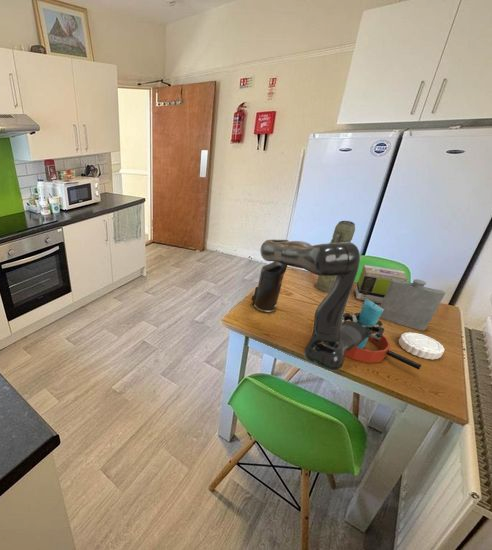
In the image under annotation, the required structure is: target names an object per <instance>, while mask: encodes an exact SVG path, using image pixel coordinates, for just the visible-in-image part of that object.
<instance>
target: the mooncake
mask: <svg viewBox="0 0 492 550" xmlns="http://www.w3.org/2000/svg"><path fill="white" fill-rule="evenodd" d="M398 345H399V346H400V347H401V349H403V350H405V352H406V353H410V355H412V356H416V357H418V358H421V359H425V360H438V359H441V358H442V356H443V354H444V352H445V350H446V349H445V347H444V345H443V344H441V342H439V341H437V340H436V339H435V338H432V337H430V336H428V335H425V334H423V333H418V332H413V331H412V332H411V331H408V332H404V333H402V334H401V335H400V337H399V338H398Z"/></svg>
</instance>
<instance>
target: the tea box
mask: <svg viewBox="0 0 492 550" xmlns="http://www.w3.org/2000/svg"><path fill="white" fill-rule="evenodd" d="M392 279H397V280H400V281H405V282H408V279H409V278H408V277H407V274H406V273H405V271H404V270H403V269H398V268H397V269H396V268H391V267H383V266H376V265H370V264H363V265H362V269H361V272H360V274H359V277H358V280H357V283H356V286H355V288H354V292H355V299H356V300H361V301H365V299H366V298H367V299H368V300H370V301H371V302H373V303H375V304H380V305H381V303H382V301H383V299H384V296H385V294H386V292H387V290H388V287H389V285H390V283H391V281H392Z"/></svg>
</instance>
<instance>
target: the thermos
mask: <svg viewBox="0 0 492 550" xmlns="http://www.w3.org/2000/svg"><path fill="white" fill-rule="evenodd" d="M355 232H356V224H355V222H354V221H350V220H340V221H338V223H337V224H336V226H335V227H334V230H333V233H332V238H331V240H330V242H329V243H341V242H350V243H352V242H351V241H352V240H353V237H354V234H355ZM335 280H336V276H318V277H317V280H316V285H315V288H316V289H317V290H319V291H321V292H323V293H327V294H328V293H329V292H330V290H331V289H332V287H333V285H334V283H335Z"/></svg>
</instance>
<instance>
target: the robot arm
mask: <svg viewBox="0 0 492 550" xmlns="http://www.w3.org/2000/svg"><path fill="white" fill-rule="evenodd" d="M259 249H260V256H261V258H262V259H263V261H265V262H270V263H267V264H264V265H263V266H262V267H261V269H260V275H259V279H258V283H257V286H256V287H255V289H254V294H252V295H251V301H252V304H251V306H253V307H254V308H255V309H256V310H257V311H259V312H262V313H267V314H268V313H274V312H275V311H276V310H277V306H278V304H279V302H278V300H279V297H280V292H281V289H282V284H283V280H284V277H285V273H286V271H287V268H288V266H289V267H292V268H297V269H303V270H304V271H307V272H309V273H310V274H313V275H315V276H318V277H319V276H336V280H335V283H334V285H333V287H332V289H331V290H330V292H329V293H328V292H327V294H326V295H325V297H324V298H323V299H322V300H321V301H320V303H319V304H318V306H317V307H316V309H315V313H314V317H313V325H312V326H313V327H312V332H311V334H310V336H309V340H308V341H307V344H306V346H305V348H304V350H303V355H304V357H305V359H306V361H308V362H309V363H312V364H314V365H316V366H319V367H321V368H324V369H326V370H329V371H333V372H335V371H339V370H341V369H342V367H343V366H344V363H345V358H346V357H347V356H346V354H347V353H348V352H349V351H350V350H352V349H353V348H355V347H356V346H358V345H359V344H360V343H361V342H362V341H363V340H364V339H366V338H368V337H372V338H375V341H377V342H379V341H380V339H381V337H382V335H384V332H385V328H384V327H382V326H383V322H382V321H381V320H378V321H377V323H376V324H374V325H372V324H367V325H365V324H362V323H360V322H358V321H357V320H358V317H359V315H360V312H361V311H360V312H355V313H354V314H350V313H348V312H345V309H346V305H347V303H348V300H349V297H350V294H351V291H352V289H353V286H354V283H355V280H356V278H357V275H358V271H359V269H360V263H361V253H360V250H359V248H358V246H357V245H356V244H354V243H353V242H351V243H350V242H341V243H330V242H329V243H320V244H319V243H318V244H314V245H312V244H311V243H309V242H307V241H303V240H288V239H266V240H265V241H263V243H262V244H261V246H260V248H259ZM372 332H376V333H374V334H372Z"/></svg>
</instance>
